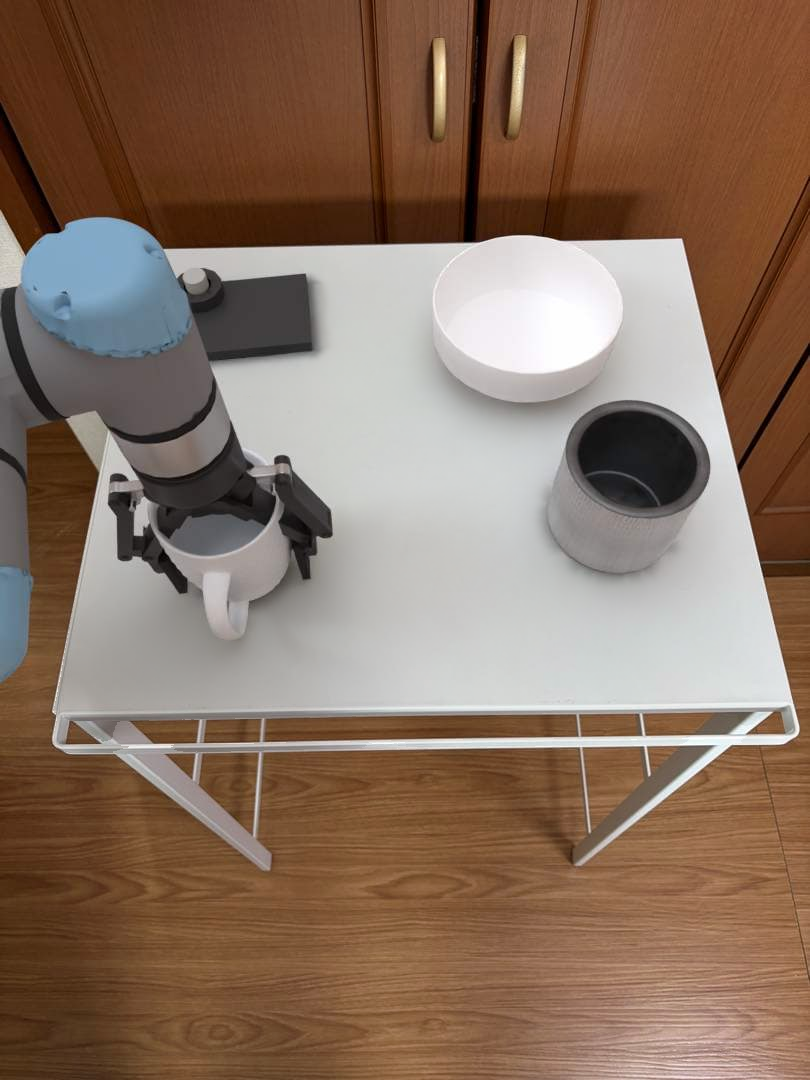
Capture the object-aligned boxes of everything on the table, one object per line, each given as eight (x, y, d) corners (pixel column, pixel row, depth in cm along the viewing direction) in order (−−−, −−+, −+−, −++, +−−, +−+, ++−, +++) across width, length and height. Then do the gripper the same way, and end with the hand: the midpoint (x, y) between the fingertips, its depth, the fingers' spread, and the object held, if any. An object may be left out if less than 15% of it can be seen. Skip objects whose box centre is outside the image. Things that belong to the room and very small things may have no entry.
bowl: (606, 435, 79) (625, 382, 71) (421, 418, 80) (421, 365, 73) (605, 300, 88) (622, 241, 80) (439, 287, 89) (441, 228, 82)
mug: (301, 658, 68) (277, 601, 56) (180, 664, 68) (131, 608, 56) (304, 516, 75) (283, 439, 63) (195, 521, 75) (154, 445, 63)
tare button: (186, 296, 86) (182, 284, 84) (186, 280, 87) (182, 268, 85) (209, 294, 86) (205, 282, 84) (209, 278, 87) (205, 266, 86)
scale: (178, 364, 84) (170, 345, 82) (181, 289, 90) (173, 270, 87) (312, 350, 85) (309, 331, 82) (307, 277, 91) (303, 257, 88)
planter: (533, 558, 72) (551, 498, 62) (558, 455, 78) (578, 384, 68) (664, 591, 70) (704, 534, 60) (680, 483, 76) (719, 415, 66)
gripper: (342, 376, 53) (364, 525, 73) (13, 410, 53) (123, 552, 72) (351, 462, 50) (371, 595, 69) (-2, 501, 49) (118, 624, 68)
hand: (245, 573), depth 71 cm, fingers closed on mug, 11 cm apart
